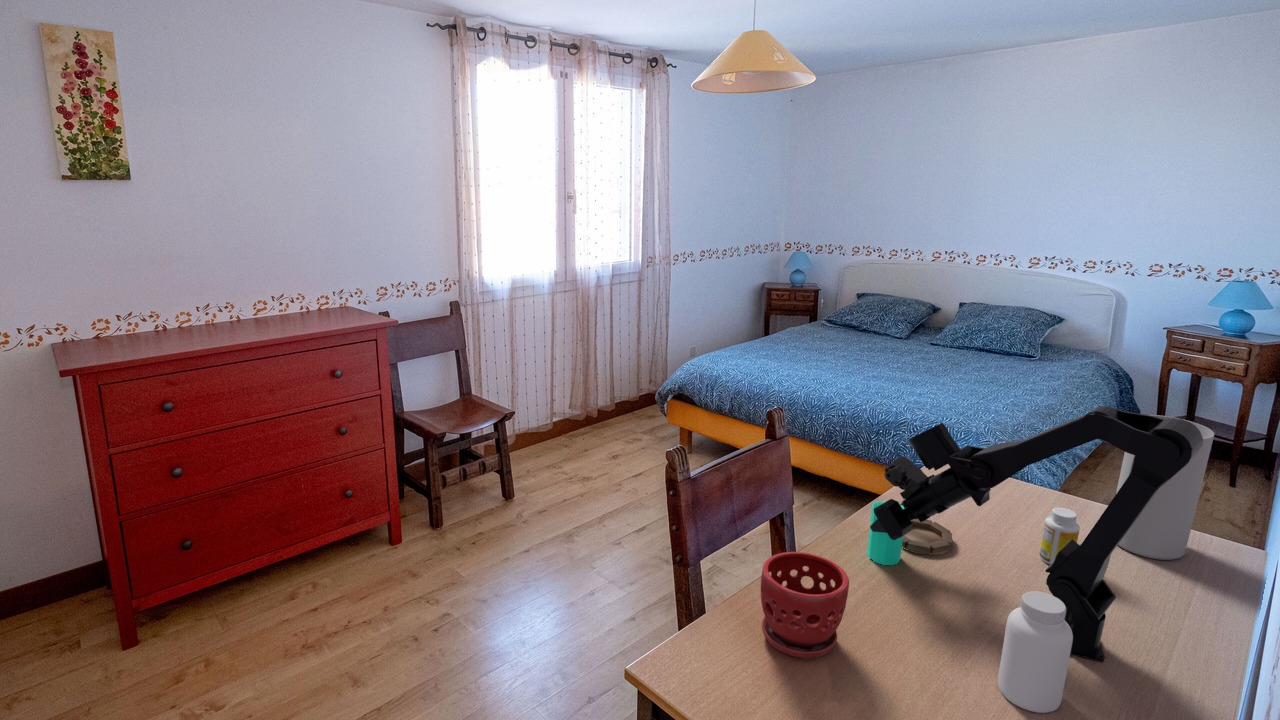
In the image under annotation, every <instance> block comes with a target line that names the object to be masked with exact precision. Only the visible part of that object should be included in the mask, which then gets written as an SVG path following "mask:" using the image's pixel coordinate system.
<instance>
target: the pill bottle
mask: <svg viewBox="0 0 1280 720" xmlns="http://www.w3.org/2000/svg"><path fill="white" fill-rule="evenodd" d="M1065 615H1066V606H1065V604H1064V603H1063V602H1062V601H1061V600H1059V599H1058V598H1056V597H1054V596H1053V595H1052V594H1049V593H1046V592H1042V591H1035V590H1034V591H1027V592H1025V593H1023V594H1022V596H1021V601H1020V607H1017V608H1015V609H1013V610H1012V611H1011V612H1010V613H1009V615H1008V617H1007V619H1006V625H1005V633H1004V637H1003V638H1004V639H1003V644H1002V650H1001V651H1002V652H1001V658H1000V663H999V670H998V676H997V678H998V679H997V684H998V685H997V686H998V688H999V690H1000V692H1001V694H1002V695H1003V696H1004V697H1005V698H1006V700H1008V701H1009V702H1010V703H1012V704H1013V705H1015V706H1017V707H1018V708H1021V709H1022V710H1023V709H1024V710H1025V711H1026V710H1027V711H1028V712H1033V713H1039V714H1047V713H1048V714H1049V713H1052V712H1054V711H1055V710H1057V709H1058V708H1059V707H1060V706H1061V703H1062V698H1063V695H1064V694H1063V693H1064V689H1065V685H1066V684H1065V683H1066V678H1067V673H1068V668H1069V662H1070V657H1071V654H1070V652H1071V647H1072V641H1073V634H1072V630H1071V628H1070V626H1069V625H1068V623H1067V622H1066V621H1065V620H1064V619H1065Z"/></svg>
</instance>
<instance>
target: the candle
mask: <svg viewBox="0 0 1280 720" xmlns="http://www.w3.org/2000/svg"><path fill="white" fill-rule="evenodd" d="M886 501H887V500H883V501H876V502H873V504H872V505H871V515H870V524H869V534H868V543H867V550H866V552H867V553H866V555H867V554H868V555H867V557H868V556H869V557H868V559H869V558H870V559H872V560H873V561H874V562H873V561H872V560H871V561H872V562H873V563H875V562H876V563H875V564H877V563H879V564H878V565H880V564H882V565H881V566H884V565H893V566H895V565H894V564H896V563H898V562H900V561H901V556H902V550H903V549H902V540H903V536H902V537H900V538H898V539H896V540H892V539H890V537H889V535H888V534H887V533H883V532H873V531H872V530H871V528H870V526H871V525H872V524H873V523H874V522H875V521H876V520H877V519H878V518H877V517H876V515H875V513H874V508H876V507H877V506H879V505H881V504H882V503H884V502H886ZM901 507H902V509H904V506H902V505H901ZM870 559H869V560H870ZM899 560H900V561H899ZM898 564H899V563H898ZM896 565H897V564H896Z"/></svg>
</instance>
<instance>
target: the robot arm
mask: <svg viewBox="0 0 1280 720" xmlns="http://www.w3.org/2000/svg"><path fill="white" fill-rule="evenodd" d="M1151 415H1152V414H1145V413H1138V412H1137V413H1136V412H1132V411H1131V412H1130V411H1126V410H1125V411H1124V410H1122V409H1117V408H1114V407H1111V406H1108V405H1107V406H1106V405H1102V406H1101V405H1100V406H1096V407H1095V408H1093V409H1092V410H1091V411H1089V412H1088V413H1084V414H1082V415H1080V416H1077V417H1075V418H1073V419H1070V420H1068V421H1065V422H1063V423H1061V424H1059V425H1056V426H1053V427H1051V428H1049V429H1046V430H1044V431H1041V432H1039V433H1038V434H1035V435H1032V436H1029V437H1027V438H1025V439H1022V440H1020V439H1019V440H1017V441H1016V440H1015V441H1006V442H1002V443H998V444H993V445H989V446H987V447H979V446H973V445H965V446H963V447H961V448H960V446H959V445H958V443H957V442H956V441H955V440H954V438H953V437H952V435H951V434H950V432H949V430H948V427H947V426H946V425H945V423H944V422H940V423H938V424H935V426H933V427H930V428H928V429H926V430H924V431H923V432H920V433H918V434H917V435H916V434H915V435H914V436H913V437H912V438H909V439H908V440H907V442H908V444H909V445H910V447H911V448H912V449H913V451H914V452H915V453H916V455H917V456H918V458H919V460H920V461H921V463H922V464H923V466H924V467H925V468H926V469H927V470H928V471H930V470H932V469H933V470H934V471H937V470H940V469H941V468H943V467H945V466H947V465H948V466H949V467H948V468H947V469H945V470H943V471H941V472H939V473H937V474H931V475H929V476H927V475H926V474H925V473H924V472H923V469H921V468H920V467H918V465H917V464H915V463H914V462H912V461H911V460H910V459H909V458H908V457H906V456H899V457H898V458H896V459H894V460H892V462H891V463H890V465H889V466H888V467H886V468H884V473H883V474H884V478H885V480H887V481H888V482H889V483H890V484H891V485H892V486H893V487H896V488H897V487H898V488H899V489H900V490H903V491H901V492H899V495H900V496H901V497H902V499H903V500H901V503H899V501H897V500H895V499H893V498H890V499H888V500H885V501H886V502H884V503H882V504H881V505H879V506H877V507H876V508H874V513H875V515H876V517H877V518H878V519H877V520H876V521H875V522H874V523H873V524H872V525H871V526H870V525H869V529H870V528H871V530H872V531H873V532H883V533H887V534H888V535H889V537H890V539H892V540H896V539H898V538H900V537H902V536H904V535H905V534H907V533H908V532H910V531H911V530H912V522H911V520H913V519H919V521H920V522H923V521H925V520H929V519H930V518H931V517H933V516H936V515H937V514H938V515H939V514H941V513H944V512H946V511H947V510H948V509H949V508H951V507H953V506H955V505H957V504H959V503H962V502H964V501H965V500H967V499H969V498H971V499H972V500H973V501H974V503H975V504H976V506H977V507H981V506H982V505H984V504H986V503H987V502H989V500H991V499H990V493H991V490H992V488H995V487H996V486H998V485H1000V484H1001V483H1003V482H1004V481H1006V480H1008V479H1009V478H1011V477H1012V476H1014V475H1016V474H1017V473H1019V472H1020V471H1022V470H1023V469H1025V468H1026V467H1029V466H1030V465H1033V464H1035V463H1039V462H1041V461H1043V460H1046V459H1049V458H1051V457H1054V456H1057V455H1059V454H1062V453H1064V452H1067V451H1070V450H1072V449H1075V448H1077V447H1079V446H1082V445H1085V444H1087V443H1090V442H1092V441H1096V440H1101V441H1103V442H1106V443H1108V444H1110V445H1112V446H1114V447H1116V448H1117V449H1119V450H1121V451H1123V452H1124V453H1125V452H1127V453H1129V454H1132V455H1135V456H1134V459H1133V463H1132V467H1131V471H1130V474H1129V476H1128V478H1127V479H1126V481H1125V482H1124V484H1123V485H1122V487H1121V488H1120V489H1119V491H1118V492H1117V491H1116V492H1117V494H1116V493H1115V495H1114V497H1113V498H1112V500H1111V501H1110V502H1109V504H1108V505H1107V507H1106V508H1105V509H1104V511H1103V513H1102V514H1101V515H1100V517H1099V518H1098V519H1097V521H1096V523H1095V524H1094V525H1093V527H1092V528H1091V530H1090V531H1089V533H1087V536H1086V537H1085V538H1084V540H1083V541H1082V543H1081V544H1079V543H1078V542H1077V543H1076V542H1075V541H1074V540H1073V539H1071V540H1070V541H1069V542H1068V543H1067V544H1066V545H1065V546H1064V547H1063V548H1062V549H1061V550H1060V551H1059V552H1058V554H1057V556H1056V558H1055V561H1054V562H1053V563H1052V564H1051V565H1049V566H1048V567H1047V568H1045V570H1044V571H1045V572H1046V573H1048V575H1047V577H1046V580H1045V584H1046V586H1047V587H1048V590H1049V592H1050V593H1051V595H1052V596H1054V597H1056V598H1058V599H1059V600H1061V601H1062V602H1063V603H1064V604H1065V606H1066V615H1065V619H1064V620H1065V621H1066V622H1067V623H1068V625H1069V626H1070V628H1071V630H1072V634H1073V641H1072V647H1071V652H1070V655H1074V656H1078V657H1082V658H1086V659H1089V660H1094V661H1099V662H1106V656H1105V653H1104V650H1103V647H1102V643H1101V640H1102V635H1103V631H1104V627H1105V622H1106V617H1107V616H1106V611H1107V610H1108V609H1109V608H1110V607H1111V605H1112V604H1113V603H1114V602H1115V601H1116V599H1117V596H1116V594H1115V592H1114V591H1113V590H1112V589H1111V587H1110V586H1109V585H1108V584H1107V582H1106V581H1105V579H1104V577H1105V575H1106V572H1107V569H1108V567H1109V563H1110V559H1111V556H1112V554H1113V552H1114V550H1115V549H1116V548H1117V547H1118V544H1119V543H1120V541H1121V540H1122V538H1123V537H1124V536H1125V534H1126V533H1127V532H1128V530H1129V529H1130V527H1131V526H1132V525H1133V523H1134V522H1135V521H1136V519H1137V518H1138V517H1139V515H1140V514H1141V512H1142V511H1143V510H1144V508H1145V507H1146V506H1147V504H1148V503H1149V502H1150V500H1151V499H1152V497H1153V496H1154V495H1155V493H1156V492H1157V491H1158V489H1159V488H1160V487H1161V486H1162V485H1164V484H1165V483H1166V482H1167V481H1168V480H1170V479H1171V478H1172V477H1173V476H1174V475H1175V474H1177V473H1178V472H1179V471H1180V470H1181V469H1182V468H1183V467H1185V466H1186V465H1187V464H1188V463H1189V461H1190V460H1191V459H1192V458H1193V457H1194V456H1195V455H1196V454H1197V453H1198V452H1199V451H1200V449H1201V448H1202V445H1203V437H1202V435H1201V432H1200V431H1199V430H1198V428H1197V427H1196V426H1195V425H1193V424H1192V423H1190V422H1188V421H1189V420H1188V421H1185V420H1186V419H1184V420H1182V418H1179V419H1174V418H1175V417H1174V418H1173V419H1167V420H1165V419H1161V418H1158V417H1155V416H1151ZM901 505H902V506H904V509H902V507H901Z"/></svg>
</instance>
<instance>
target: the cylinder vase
mask: <svg viewBox="0 0 1280 720" xmlns="http://www.w3.org/2000/svg"><path fill="white" fill-rule="evenodd" d="M1150 415H1151V416H1155V417H1158V418H1161V419H1165V420H1167V419H1173V418H1174V419H1180V418H1178V417H1174V416H1168V415H1158V414H1150ZM1181 419H1182V418H1181ZM1182 420H1185V421H1188V422H1190V423H1192V424H1193V425H1195V426H1196V427H1197V428H1198V430H1199V431H1200V432H1201V435H1202V437H1203V445H1202V448H1201V449H1200V451H1199V452H1198V453H1197V454H1196V455H1195V456H1194V457H1193V458H1192V459H1191V460H1190V461H1189V463H1188V464H1187V465H1186V466H1185V467H1183V468H1182V469H1181V470H1180V471H1179V472H1178V473H1177V474H1175V475H1174V476H1173V477H1172V478H1171V479H1170V480H1168V481H1167V482H1166V483H1165V484H1164V485H1162V486H1161V487H1160V488H1159V489H1158V491H1157V492H1156V493H1155V495H1154V496H1153V497H1152V499H1151V500H1150V502H1149V503H1148V504H1147V506H1146V507H1145V508H1144V510H1143V511H1142V512H1141V514H1140V515H1139V517H1138V518H1137V519H1136V521H1135V522H1134V523H1133V525H1132V526H1131V527H1130V529H1129V530H1128V532H1127V533H1126V534H1125V536H1124V537H1123V538H1122V540H1121V541H1120V543H1119V544H1118V545H1117V547H1119V548H1122V549H1124V550H1126V551H1127V552H1130V553H1132V554H1135V555H1138V556H1140V557H1141V556H1142V557H1143V558H1147V559H1151V560H1152V559H1153V560H1161V561H1171V560H1177V559H1180V558H1182V557H1183V556H1184V555H1185V554H1186V551H1187V546H1188V543H1189V538H1190V534H1191V529H1192V526H1193V522H1194V518H1195V514H1196V510H1197V506H1198V502H1199V497H1200V494H1201V489H1202V486H1203V481H1204V477H1205V473H1206V470H1207V466H1208V461H1209V457H1210V453H1211V451H1212V445H1213V441H1214V438H1215V432H1214V431H1213V430H1212V429H1210V428H1209V427H1207V426H1205V425H1202V424H1201V423H1197V422H1194V421H1190V420H1186V419H1185V418H1184V419H1182ZM1134 456H1135V455H1132V454H1129V453H1127V452H1124V455H1123V459H1122V464H1121V467H1120V473H1119V479H1118V482H1117V487H1116V493H1115V495H1116V494H1117V492H1118V491H1119V489H1120V488H1121V487H1122V485H1123V484H1124V482H1125V481H1126V479H1127V478H1128V476H1129V474H1130V471H1131V467H1132V463H1133V459H1134Z"/></svg>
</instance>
